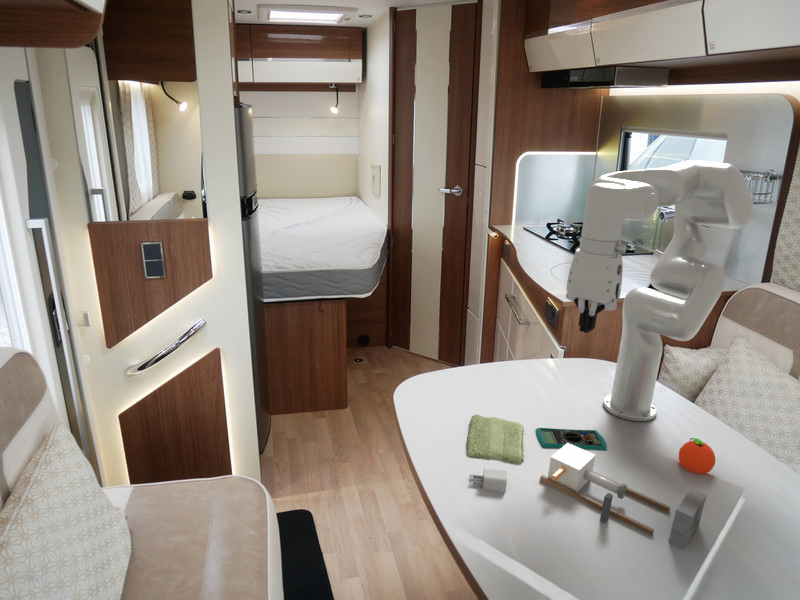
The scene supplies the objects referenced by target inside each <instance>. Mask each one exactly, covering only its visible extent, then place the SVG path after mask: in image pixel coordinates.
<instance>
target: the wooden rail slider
mask: <svg viewBox="0 0 800 600" xmlns="http://www.w3.org/2000/svg"><path fill="white" fill-rule="evenodd" d="M593 473H595V474H597V475H599V476H602V477H604V478H606V479H608V480H610V481H613V482H615V483H617V484H619V485H622V483H619V482H617V481H615V480H612V479H610V478H609V477H606V476H604V475H602V474H599V473H597V472H595V471H593ZM539 481H540V482H542V483H544V484H546V485H548V486H549V487H552V488H553V489H556V490H558V491H560V492H562V493H564V494H566V495H568V496H571V497H573V499H576V500H579V501H580V502H582V503H584V504H586V505H589V506H590V507H592V508H594V509H596V510H598V511H600V512H602V507H603V503H601V502H599V501H597V500H595V499H593V498H591V497H589V496H587V495H584V494H583V493H581V492H579V491H578V492H576V491H574V490H572V489H570V488H568V487H566V486H564V485H562V484H560V483H558V482H556V481H554V480H552V479H550V478H548V476H546V475H543V474H542V475H540V478H539ZM625 495H628V496H630V497H632V498H635V499H636V500H639V501H641V502H643V503H645V504H647V505H649V506H652V507H654V508H656V509H659V510H661V511H662V512H665V513H667V514H669V513H670V511H671V506H669V505H667V504H665V503H663V502H661V501H659V500H656V499H654V498H652V497H649V496H647V495H645V494H643V493H641V492H639V491H637V490H635V489H633V488H630V487H629V486H627V491H626V494H625ZM707 496H708V495H707V494H705V493H703V492H700V491H698V490H695V489H694V488H690V489H689V491H688V492H687V494H686V495H685V496H684V498H683V500H682V501H681V502H680V503H679V504H678V506H677V508H676V509H675V513H674V516H673V522H672V526H671V531H670V534H669V538H668V543H670V544H672V545H673V546H675V547H678V548H679V549H682V550H685V549H686V547H687V546H688V544H689V543H690V542H691V540H692V538H693V536H694V535H695V533H696V531H698V529H699V526H700V522H701V519H702V515H703V510H704V507H705V503H706V499H707ZM609 517H612V518H614V519H617V520H618V521H621V522H623V523H624V524H627V525H629V526H630V527H633V528H635V529H636V530H639V531H641V532H643V533H645V534H647V535H648V536H651V537H652V536H653V535H654V532H655V528H652V527H650V526H648V525H646V524H644V523H643V522H640V521H638V520H636V519H634V518H632V517H630V516H628V515H626V514H623V513H622V512H619V511H618V510H616V509H613V508H610V513H609Z"/></svg>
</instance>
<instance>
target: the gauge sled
mask: <svg viewBox="0 0 800 600" xmlns="http://www.w3.org/2000/svg"><path fill="white" fill-rule="evenodd" d="M595 460H596V454H594V453H592V452H590V451H588V450H586V449H581V448H578V447H576V446H574V445H572V444H569V443H567V444H565V445H564V446H563V447H562V448H559V449H558V450H556V452H555V453H553V454H552V455H551V456H550V460H549V467H548V474H547V477H548V478H550V479H552V480H554V481H556V482H558V483H560V484H562V485H564V486H566V487H568V488H570V489H572V490H574V491H576V492H579V491H580V490H581V489H582V488H584V487H585V485H586V484H588V482H591V483H592V484H594V485H596V486H599V487H601V488H603V489H605V490H607V491H609V492H611V493H613V494H616V495H617V498H618V499H619V500H623V499H624V497H625V496H626V495H627V494H626V491H627V487H628V484H625V483H621V485H619V484H620V483H619V484H617V483H618V482H617V483H615V482H616V481H615V482H613V481H614V480H613V481H610V480H611V479H610V480H608V479H609V478H608V479H606V478H607V477H606V478H604V477H605V476H604V477H602V476H603V475H602V476H599V475H600V474H599V475H597V474H598V473H597V474H595V473H596V472H595V473H593V472H594V466H595V465H594V464H595Z"/></svg>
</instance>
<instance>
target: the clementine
mask: <svg viewBox="0 0 800 600" xmlns="http://www.w3.org/2000/svg"><path fill="white" fill-rule="evenodd" d="M678 461H679V463H680V465H681V467H682V468H684V469H685V470H687V471H688V472H691V473H695V474H700V475H702V474H703V475H704V474H708V473H709V472H711V471H712V470H713V469H714V467H715V465H716V455H715V452H714V450H713V449H712V447H711V446H710V445H708V444H707V443H706V442H703V441H702V440H700V439H699V438H695V437H690V439H689V440H688V441H687V442H685V443H683V444H682V446H681V447H680V448H679V451H678Z"/></svg>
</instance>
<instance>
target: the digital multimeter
mask: <svg viewBox="0 0 800 600" xmlns="http://www.w3.org/2000/svg"><path fill="white" fill-rule="evenodd" d="M535 434H536V437H537V439H538V442H539V444H540V446H541V448H542V449H543V448H544V449H561V448H562V447H563V446H564V445H565V444H567V443H569V444H572V445H574V446H576V447H578V448H581V449H583V450H595V451H607V450H608V446H607V442H606V440H605V438H604V437H603V435H602V434H600V433H599V431H597V430H593V429H565V428H552V427H551V428H549V427H538V428H535Z"/></svg>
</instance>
